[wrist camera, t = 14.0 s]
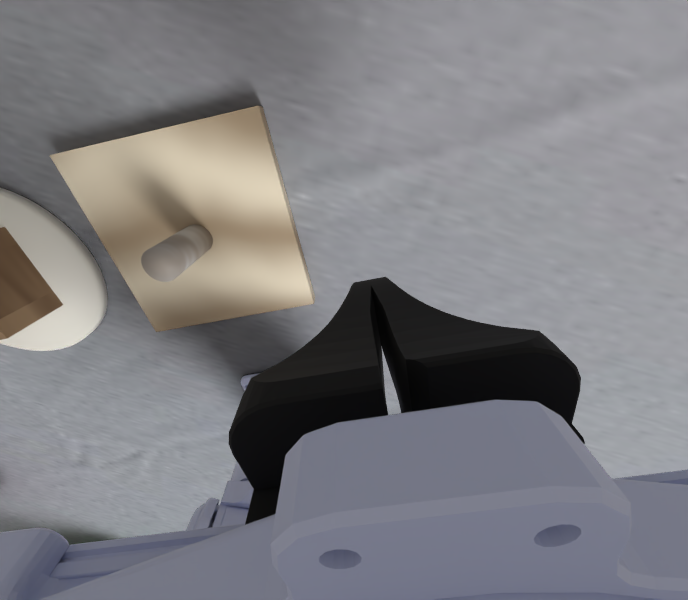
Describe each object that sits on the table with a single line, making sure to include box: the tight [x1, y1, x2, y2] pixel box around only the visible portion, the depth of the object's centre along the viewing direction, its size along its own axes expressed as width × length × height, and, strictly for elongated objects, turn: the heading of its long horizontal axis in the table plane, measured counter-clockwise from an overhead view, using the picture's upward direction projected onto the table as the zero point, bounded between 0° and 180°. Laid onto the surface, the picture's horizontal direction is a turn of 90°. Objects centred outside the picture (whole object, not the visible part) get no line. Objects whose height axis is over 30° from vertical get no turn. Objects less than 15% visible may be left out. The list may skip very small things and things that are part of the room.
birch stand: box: [50, 106, 315, 332], centre depth 17 cm, size 12×12×6 cm
